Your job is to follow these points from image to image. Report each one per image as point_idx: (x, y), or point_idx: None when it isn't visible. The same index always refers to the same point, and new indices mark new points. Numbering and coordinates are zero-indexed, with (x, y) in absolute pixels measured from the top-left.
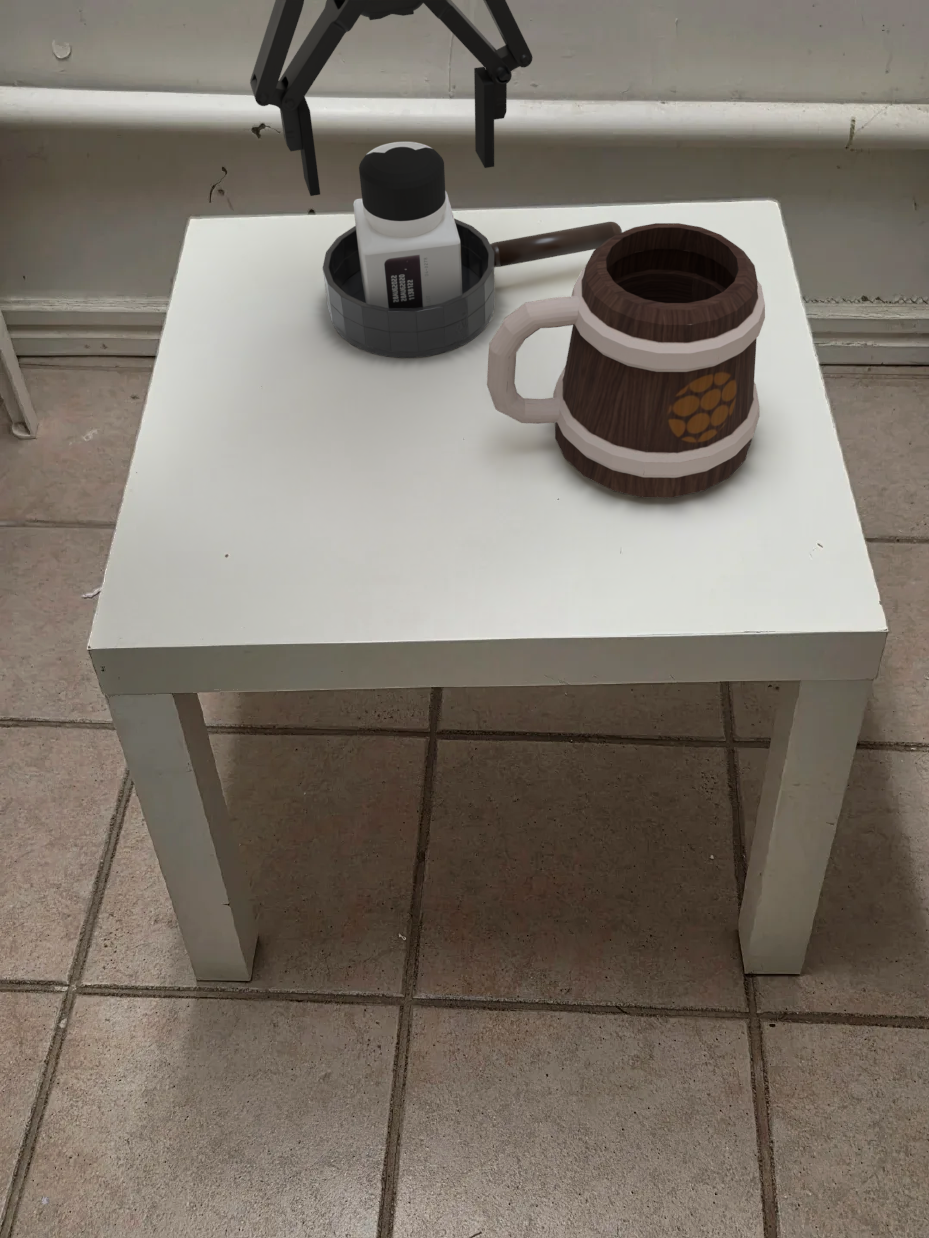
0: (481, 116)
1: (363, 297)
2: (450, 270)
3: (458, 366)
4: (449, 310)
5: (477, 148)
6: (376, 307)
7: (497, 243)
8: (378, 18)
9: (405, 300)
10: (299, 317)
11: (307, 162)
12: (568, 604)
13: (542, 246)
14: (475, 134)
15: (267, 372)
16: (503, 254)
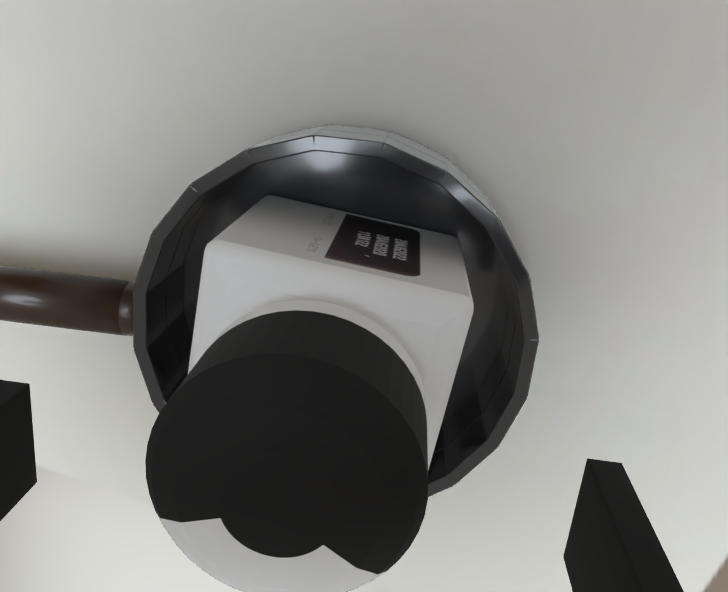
0: None
1: None
2: (256, 226)
3: (320, 68)
4: (299, 136)
5: (22, 473)
6: (467, 198)
7: (115, 320)
8: None
9: (379, 235)
10: (569, 360)
11: (655, 544)
12: None
13: (20, 279)
14: (2, 516)
15: (704, 217)
16: (114, 289)
